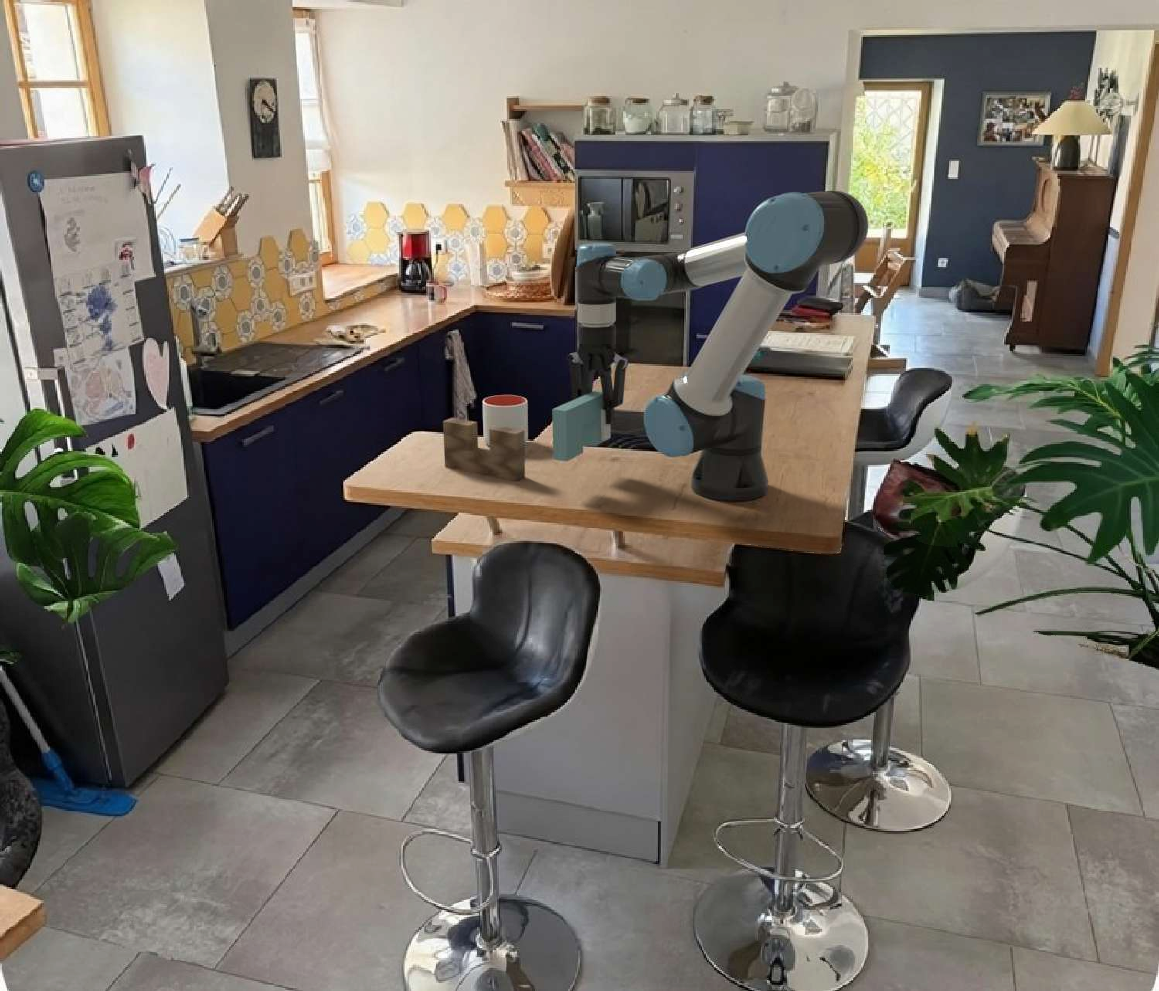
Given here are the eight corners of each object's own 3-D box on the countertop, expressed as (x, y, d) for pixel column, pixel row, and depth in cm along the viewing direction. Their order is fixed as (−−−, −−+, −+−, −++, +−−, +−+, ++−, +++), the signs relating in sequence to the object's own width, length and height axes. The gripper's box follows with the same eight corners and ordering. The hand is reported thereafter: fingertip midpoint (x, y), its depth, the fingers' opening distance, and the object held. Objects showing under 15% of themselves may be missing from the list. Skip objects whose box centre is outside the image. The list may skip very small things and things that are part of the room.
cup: (521, 451, 226) (521, 407, 222) (478, 448, 228) (477, 405, 224) (532, 438, 235) (532, 396, 231) (490, 435, 237) (489, 393, 233)
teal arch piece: (597, 436, 213) (596, 389, 209) (609, 438, 211) (609, 391, 208) (553, 459, 198) (552, 409, 195) (566, 461, 196) (565, 411, 193)
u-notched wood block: (524, 476, 210) (524, 430, 206) (517, 481, 207) (516, 434, 204) (453, 462, 218) (451, 417, 214) (445, 466, 215) (443, 421, 212)
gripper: (641, 323, 201) (641, 438, 209) (570, 318, 209) (572, 428, 217) (624, 329, 195) (624, 447, 203) (552, 323, 203) (554, 437, 210)
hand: (597, 437), depth 210 cm, fingers closed on teal arch piece, 3 cm apart
